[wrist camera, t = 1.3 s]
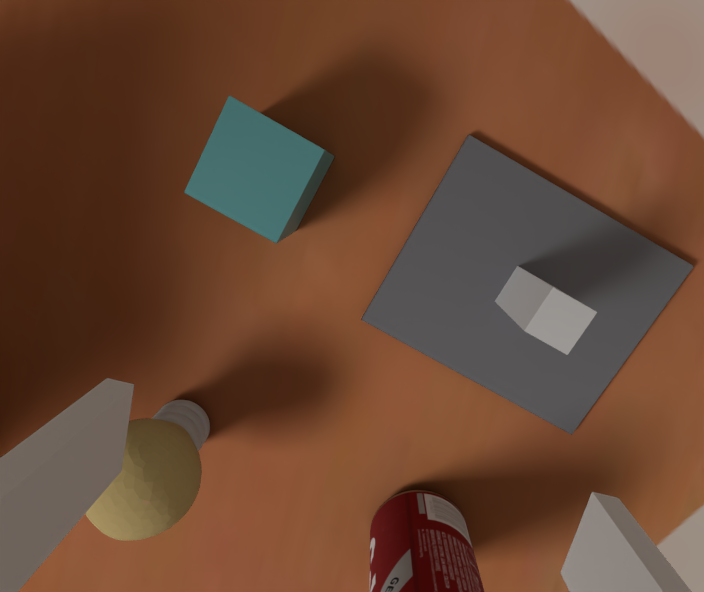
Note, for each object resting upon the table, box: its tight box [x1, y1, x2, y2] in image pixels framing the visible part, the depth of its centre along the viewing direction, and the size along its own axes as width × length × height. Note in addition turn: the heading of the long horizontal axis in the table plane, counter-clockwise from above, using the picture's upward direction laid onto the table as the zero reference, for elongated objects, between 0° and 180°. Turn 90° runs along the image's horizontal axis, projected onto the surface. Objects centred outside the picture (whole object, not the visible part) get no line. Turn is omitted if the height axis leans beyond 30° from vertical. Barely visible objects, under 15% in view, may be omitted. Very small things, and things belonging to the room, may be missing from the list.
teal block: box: [184, 96, 335, 243], centre depth 28 cm, size 5×5×7 cm
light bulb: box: [85, 400, 210, 541], centre depth 31 cm, size 6×6×10 cm
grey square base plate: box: [362, 135, 694, 435], centre depth 29 cm, size 16×13×7 cm
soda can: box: [370, 490, 484, 592], centre depth 31 cm, size 7×7×12 cm
